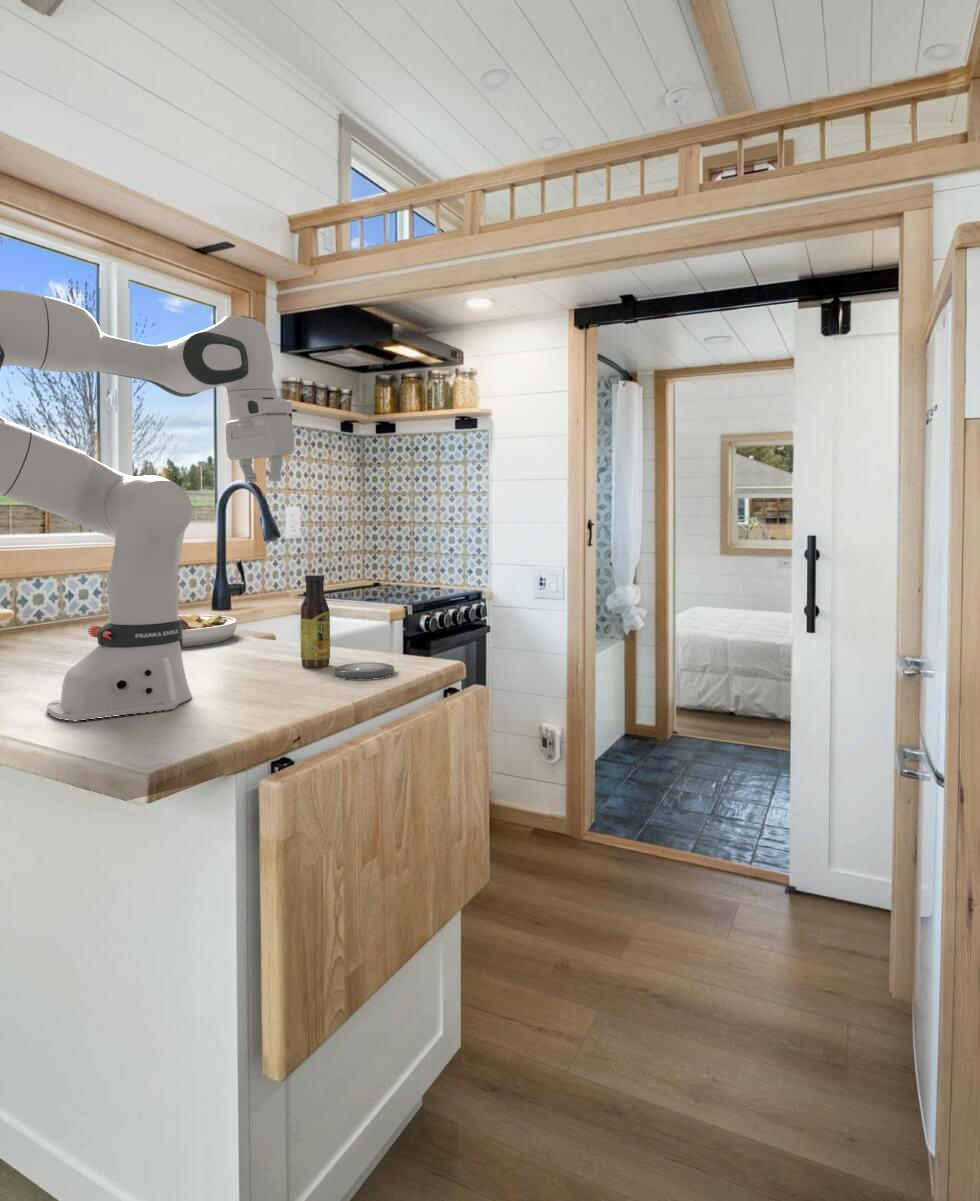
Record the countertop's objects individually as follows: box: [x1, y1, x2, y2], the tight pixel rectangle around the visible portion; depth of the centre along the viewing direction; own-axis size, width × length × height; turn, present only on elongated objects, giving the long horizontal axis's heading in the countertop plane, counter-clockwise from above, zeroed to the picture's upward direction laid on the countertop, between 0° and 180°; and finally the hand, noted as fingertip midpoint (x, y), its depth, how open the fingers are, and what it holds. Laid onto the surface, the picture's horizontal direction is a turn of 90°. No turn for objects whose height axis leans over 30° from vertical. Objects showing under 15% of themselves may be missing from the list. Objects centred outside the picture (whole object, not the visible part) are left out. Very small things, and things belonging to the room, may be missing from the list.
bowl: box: [178, 613, 238, 648], centre depth 199 cm, size 30×30×8 cm
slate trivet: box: [334, 661, 395, 680], centre depth 158 cm, size 12×12×1 cm
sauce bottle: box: [299, 574, 331, 669], centre depth 165 cm, size 7×6×20 cm
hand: (262, 482), depth 146 cm, fingers open, 8 cm apart
